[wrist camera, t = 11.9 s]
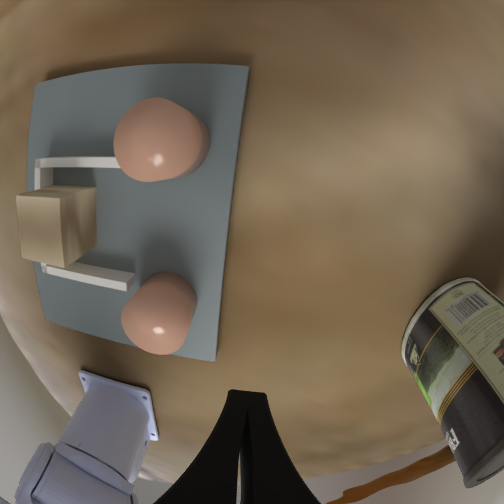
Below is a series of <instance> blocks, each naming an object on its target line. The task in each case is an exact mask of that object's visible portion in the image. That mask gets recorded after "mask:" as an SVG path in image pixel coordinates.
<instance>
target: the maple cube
mask: <svg viewBox="0 0 504 504" xmlns="http://www.w3.org/2000/svg"><path fill="white" fill-rule="evenodd" d="M96 195H97V187H86V186H66V185H52V186H48V187H44V188H41V189H37V190H33V191H30V192H27V193H23V194H20V195H17V196H16V205H17V220H18V231H19V240H20V248H21V255H22V258H25V259H28V260H32V261H36V262H41V263H45V264H49V265H53V266H57V267H62V268H66V267H67V266H68V265H70V264H71V263H73V262H74V261H76V260H77V259H78V258H80V257H81V256H83V255H84V254H86V253H87V252H89V251H90V250H92V249H93V248H95V247H96V246H97V219H96Z"/></svg>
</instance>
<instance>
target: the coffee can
mask: <svg viewBox="0 0 504 504" xmlns="http://www.w3.org/2000/svg"><path fill="white" fill-rule="evenodd" d="M402 357H403V360H404V362H405V364H406V366H407V367H408V368H409V370H410V371H411V373H412V375H413V376H414V378H415V380H416V382H417V383H418V385H419V387H420V389H421V390H422V392H423V394H424V396H425V398H426V400H427V402H428V403H429V405H430V407H431V409H432V411H433V413H434V415H435V417H436V419H437V421H438V423H439V425H440V427H441V429H442V431H443V433H444V435H445V437H446V439H447V441H448V444H449V446H450V448H451V450H452V452H453V454H454V457H455V459H456V461H457V463H458V466H459V468H460V470H461V472H462V474H463V477H464V479H463V481H464V485H465V487H466V488H471V487H474V486H477V485H479V484H481V483H483V482H485V481H486V480H488V479H490V478H491V477H493V476H494V475H496V474H497V473H499V472H500V471H502V470H503V469H504V302H503V301H501V300H500V299H499V298H498V297H497V296H495V295H494V294H493V293H492V292H490V291H489V290H488V289H487V288H485V287H484V286H483V285H482V283H481V282H479V281H478V280H476V279H474V278H468V277H465V278H459V279H456V280H453V281H451V282H449V283H447V284H445V285H443V286H442V287H440V288H439V289H438V290H436V291H435V292H434V293H433V294H432V295H431V296H430V297H429V298H428V299H426V300H425V301H424V302H423V304H422V305H421V307H420V308H419V309H418V310H417V311H416V313H415V314H414V316H413V317H412V319H411V321H410V323H409V325H408V327H407V329H406V331H405V334H404V337H403V341H402Z"/></svg>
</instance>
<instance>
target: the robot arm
mask: <svg viewBox="0 0 504 504" xmlns="http://www.w3.org/2000/svg"><path fill="white" fill-rule="evenodd" d="M79 376H80V379H81V382H82V385H83V387H84V390H85V393H86V394H85V396H84V397H83V399H82V401H81V402H80V404H79V406H78V407H77V409H76V411H75V413H74V414H73V416H72V418H71V419H70V421H69V423H68V425H67V426H66V428H65V430H64V432H63V434H62V435H61V437H60V439H59V441H58V443H57V444H56V445H55V446H53V445H52V444H51V443H49V442H47V443H41V444H40V445H39V447H38V448H37V450H36V452H35V453H34V455H33V456H32V458H31V460H30V462H29V463H28V465H27V467H26V469H25V471H24V473H23V475H22V477H21V480H20V482H19V486H18V488H17V490H16V493H15V499H16V502H15V503H16V504H140V503H139V500H138V498H137V496H136V495H135V494H134V493H132V490H133V487H134V485H133V484H131V483H133V482H134V481H135V480H136V478H137V476H138V474H139V471H140V468H141V465H142V462H143V459H144V455H145V452H146V449H147V446H148V443H149V440H154V441H158V439H159V436H158V431H157V426H156V422H155V417H154V411H153V406H152V400H151V394H150V392H149V391H148V390H146V389H143V388H139V387H136V386H132V385H128V384H125V383H121V382H118V381H114V380H111V379H108V378H105V377H101V376H98V375H95V374H92V373H89V372H86V371H84V370H80V372H79ZM239 453H240V468H241V502H240V504H321V503H320V502H319V501H318V500H317V499H316V497H315V496H314V495H313V494H312V492H311V491H310V490H309V488H308V487H307V485H306V484H305V483H304V481H303V480H302V478H301V476H300V475H299V473H298V472H297V470H296V468H295V467H294V465H293V463H292V461H291V459H290V457H289V456H288V454H287V452H286V450H285V447H284V445H283V443H282V441H281V439H280V436H279V434H278V431H277V429H276V426H275V424H274V421H273V418H272V415H271V411H270V408H269V404H268V400H267V395H266V394H265V393H260V392H250V391H241V390H233V389H231V390H229V391H228V396H227V399H226V403H225V405H224V408H223V410H222V413H221V415H220V417H219V419H218V421H217V423H216V425H215V427H214V429H213V431H212V433H211V435H210V436H209V438H208V439H207V441H206V443H205V444H204V446H203V447H202V449H201V451H200V452H199V453H198V455H197V456H196V458H195V459H194V460H193V462H192V463H191V464H190V466H189V467H188V468H187V469H186V471H185V472H184V473H183V474H182V475H181V476H180V478H179V479H178V480H177V481H176V482H175V483H174V484H173V485H172V486H171V487H170V488H169V489H168V491H166V492H165V493H164V494H163V495H162V496H161V497H160V498H159V499H158V500H157V501H156V502H155V503H153V504H236V496H237V477H238V461H239ZM0 504H10V503H9V502H7V501H6V500H4V499H3V498H2V497H0Z"/></svg>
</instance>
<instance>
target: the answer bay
mask: <svg viewBox="0 0 504 504" xmlns="http://www.w3.org/2000/svg"><path fill="white" fill-rule="evenodd" d="M53 167H99V168H120V166H119V164H118V162H117V160H116V157H115V156H67V157H46V158H39V159H35V190H37V189H41V188H44V187H48V186H52V185H53ZM41 268H42V272H43V273H47V274H51V275H55V276H59V277H63V278H68V279H72V280H76V281H80V282H85V283H89V284H94V285H98V286H103V287H108V288H112V289H117V290H122V291H128V290H129V289H130V287H131V286H132V285H133V284H134V283H135V282H136V276H135V273H130V272H125V271H119V270H114V269H108V268H103V267H97V266H92V265H87V264H82V263H77V262H73V263H71V264H70V265H68V266H67V267H66V268H62V267H57V266H53V265H49V264H45V263H41Z"/></svg>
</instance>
